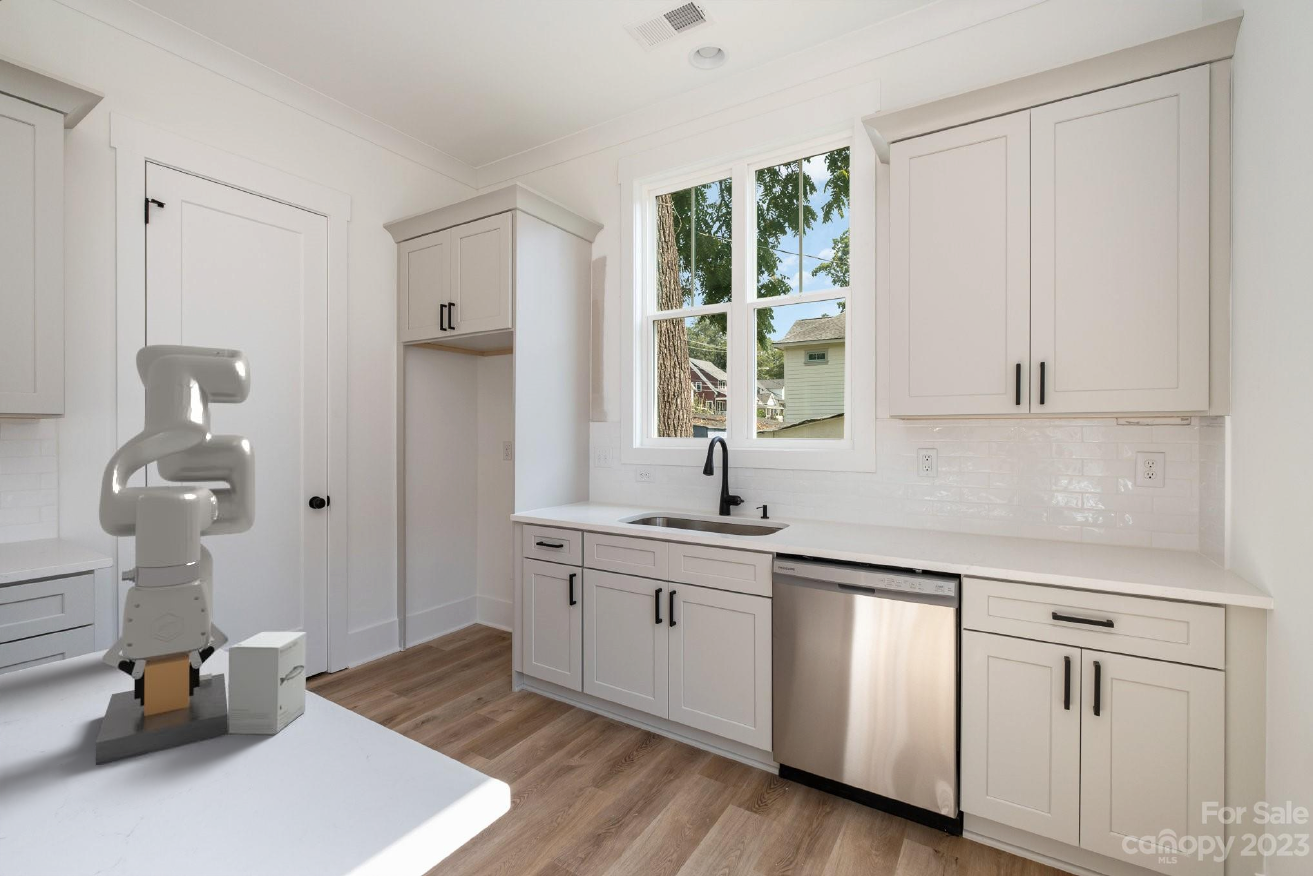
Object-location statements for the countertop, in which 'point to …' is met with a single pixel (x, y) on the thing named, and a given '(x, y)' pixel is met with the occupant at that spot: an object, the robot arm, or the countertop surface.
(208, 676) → the dark gray rectangular board
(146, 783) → the countertop surface
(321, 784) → the countertop surface
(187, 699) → the orange block
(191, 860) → the countertop surface
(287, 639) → the supplement box
